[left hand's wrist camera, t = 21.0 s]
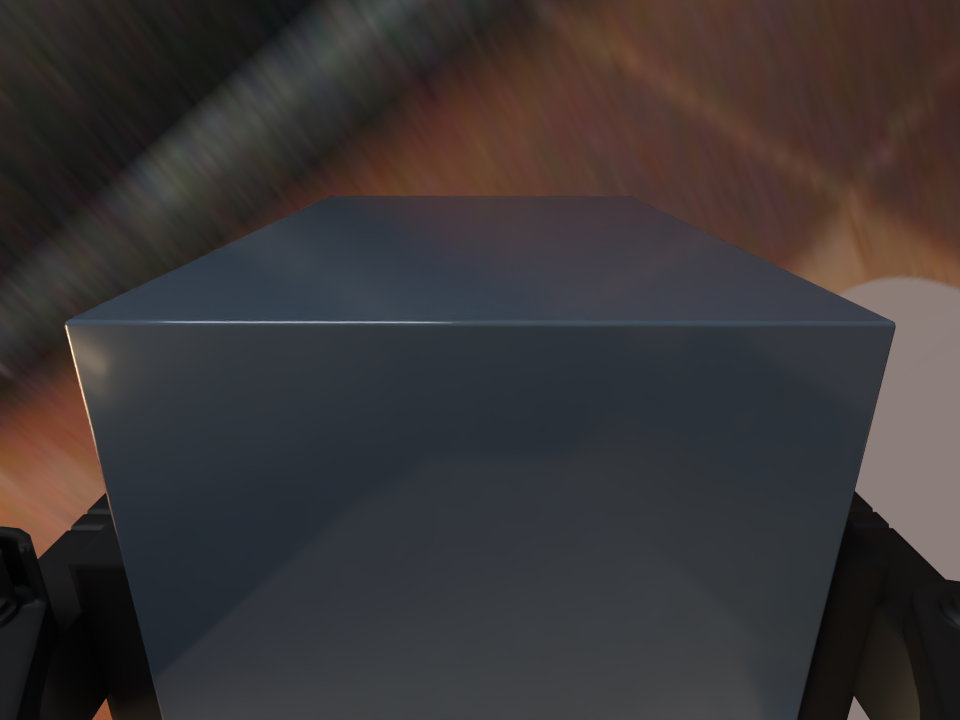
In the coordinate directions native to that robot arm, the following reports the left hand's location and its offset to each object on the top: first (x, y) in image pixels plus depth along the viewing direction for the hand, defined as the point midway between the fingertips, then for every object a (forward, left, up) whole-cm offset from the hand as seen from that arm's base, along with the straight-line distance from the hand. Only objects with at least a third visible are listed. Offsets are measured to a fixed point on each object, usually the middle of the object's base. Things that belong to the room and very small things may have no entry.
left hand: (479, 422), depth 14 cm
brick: (0, 0, -5) cm, 5 cm away
